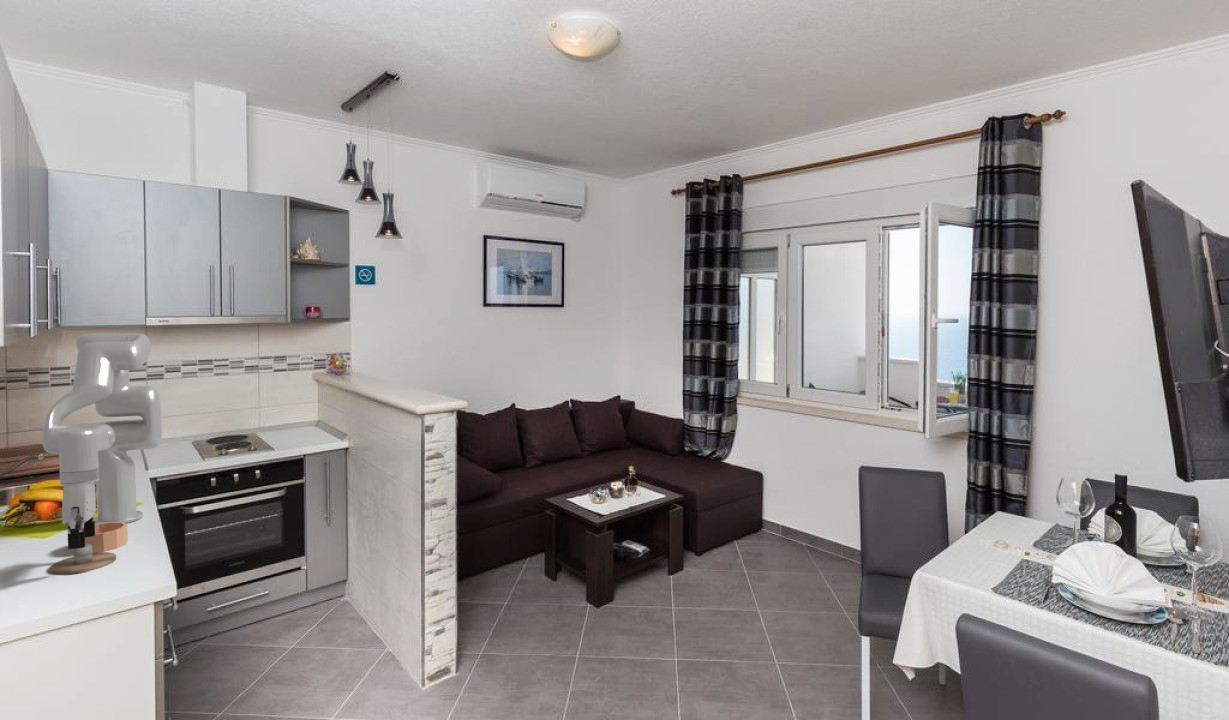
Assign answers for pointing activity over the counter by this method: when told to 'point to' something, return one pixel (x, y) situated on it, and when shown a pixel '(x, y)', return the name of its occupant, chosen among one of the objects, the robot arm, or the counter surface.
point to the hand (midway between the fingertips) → (82, 542)
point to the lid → (82, 561)
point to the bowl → (108, 536)
